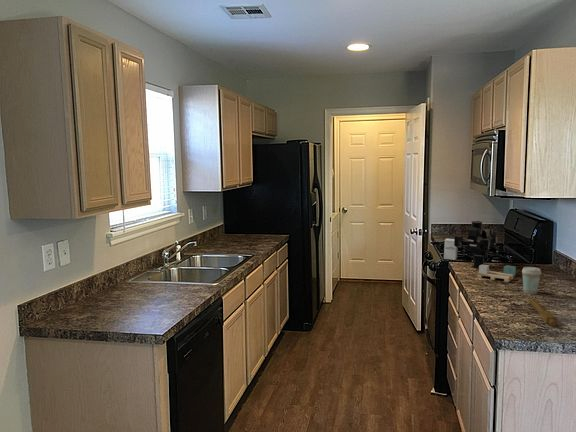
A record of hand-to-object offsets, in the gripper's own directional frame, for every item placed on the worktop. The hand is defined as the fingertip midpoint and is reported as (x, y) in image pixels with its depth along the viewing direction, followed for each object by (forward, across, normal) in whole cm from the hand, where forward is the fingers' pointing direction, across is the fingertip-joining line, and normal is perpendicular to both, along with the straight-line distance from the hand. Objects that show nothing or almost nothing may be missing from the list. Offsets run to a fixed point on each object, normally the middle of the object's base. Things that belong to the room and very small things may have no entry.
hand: (467, 246), depth 263 cm
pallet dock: (-2, +15, +16) cm, 22 cm away
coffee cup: (+17, +36, +14) cm, 42 cm away
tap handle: (+49, +46, +11) cm, 68 cm away
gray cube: (-1, +9, +14) cm, 17 cm away
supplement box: (-37, -20, +21) cm, 47 cm away
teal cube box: (-13, +20, +17) cm, 29 cm away
